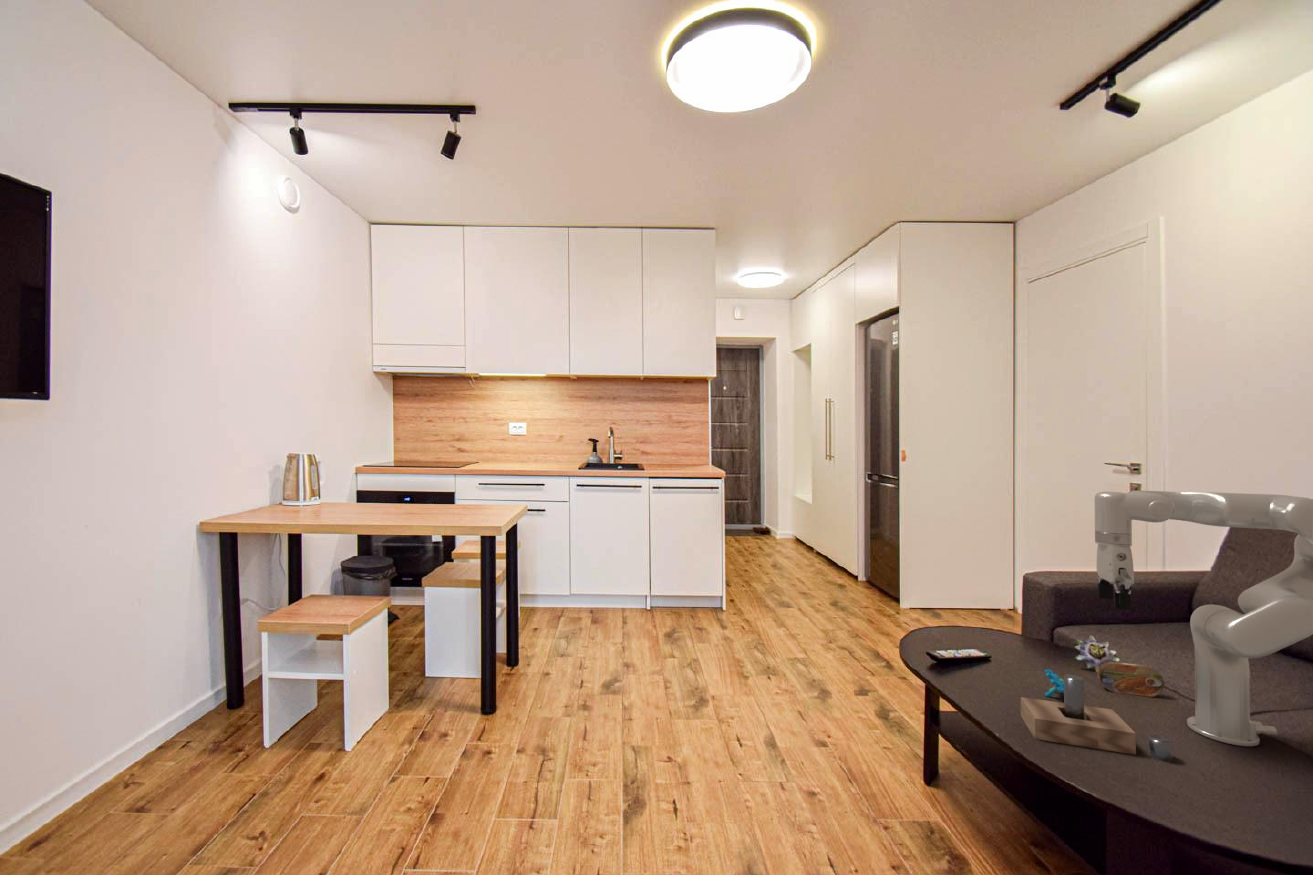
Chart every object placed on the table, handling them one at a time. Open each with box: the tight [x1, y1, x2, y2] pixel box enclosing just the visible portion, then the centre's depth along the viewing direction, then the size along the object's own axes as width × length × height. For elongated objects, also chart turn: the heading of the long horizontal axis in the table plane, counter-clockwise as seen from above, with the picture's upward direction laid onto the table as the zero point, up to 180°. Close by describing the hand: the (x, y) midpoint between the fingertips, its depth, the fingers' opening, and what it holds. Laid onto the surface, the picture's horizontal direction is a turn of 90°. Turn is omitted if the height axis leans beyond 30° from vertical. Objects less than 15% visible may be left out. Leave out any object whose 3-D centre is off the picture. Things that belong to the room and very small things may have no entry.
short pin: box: [1148, 734, 1173, 763], centre depth 126 cm, size 4×4×4 cm
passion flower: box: [1073, 635, 1121, 673], centre depth 177 cm, size 11×11×12 cm
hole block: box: [1020, 696, 1137, 755], centre depth 136 cm, size 20×12×5 cm, turn 70°
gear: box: [1044, 668, 1064, 698], centre depth 156 cm, size 11×6×10 cm
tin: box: [1096, 661, 1165, 698], centre depth 159 cm, size 15×3×8 cm, turn 68°
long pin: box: [1063, 673, 1085, 720], centre depth 136 cm, size 4×4×14 cm
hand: (1113, 603), depth 144 cm, fingers open, 9 cm apart
